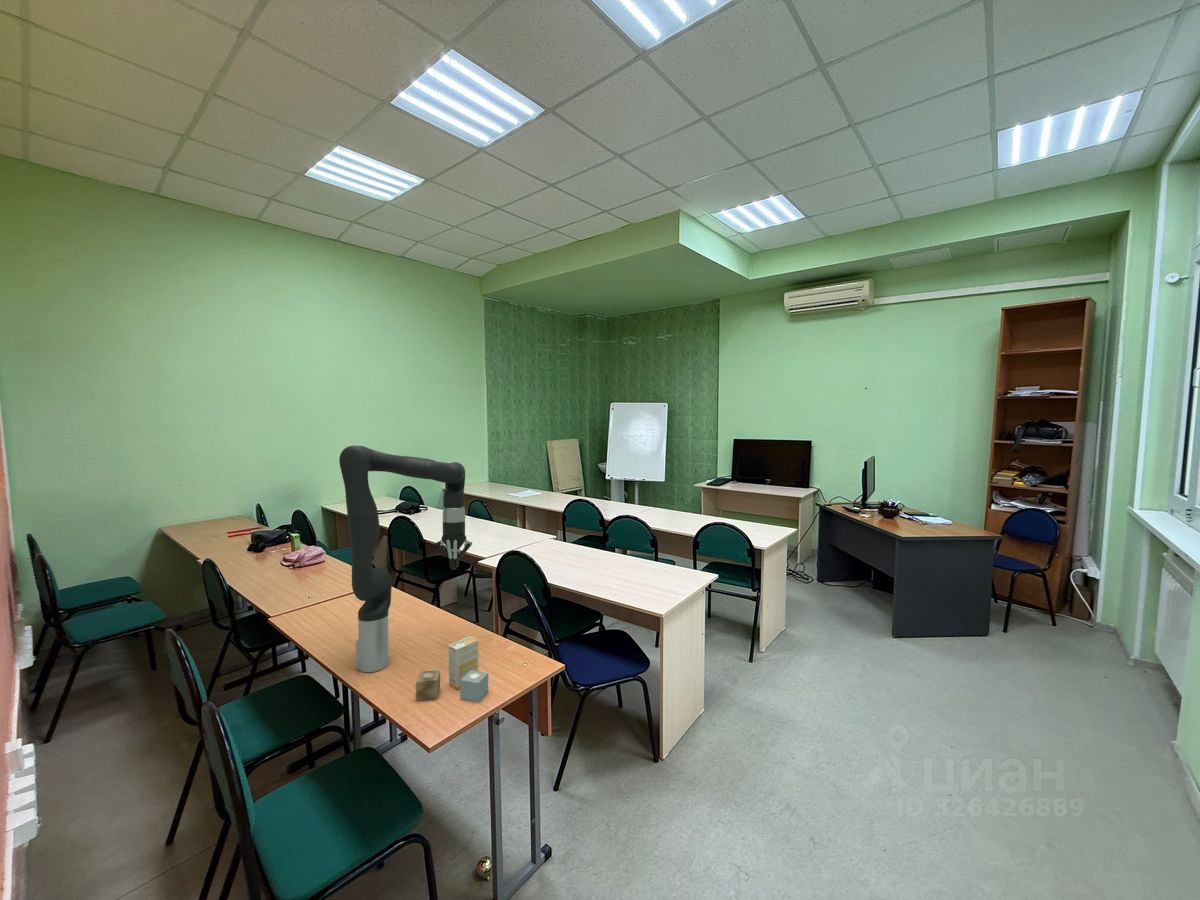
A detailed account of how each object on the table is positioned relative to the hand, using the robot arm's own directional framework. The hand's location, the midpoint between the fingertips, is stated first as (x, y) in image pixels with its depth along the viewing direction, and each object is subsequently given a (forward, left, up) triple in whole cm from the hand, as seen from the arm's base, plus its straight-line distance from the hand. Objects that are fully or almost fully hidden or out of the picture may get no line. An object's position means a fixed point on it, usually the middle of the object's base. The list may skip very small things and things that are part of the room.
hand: (454, 568), depth 164 cm
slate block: (+15, -22, -32) cm, 42 cm away
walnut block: (+1, -23, -32) cm, 40 cm away
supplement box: (+9, -15, -32) cm, 37 cm away
